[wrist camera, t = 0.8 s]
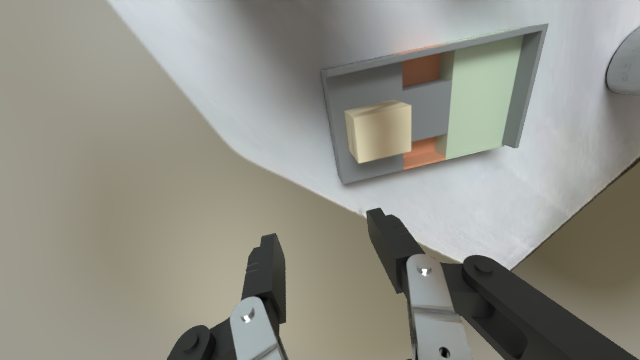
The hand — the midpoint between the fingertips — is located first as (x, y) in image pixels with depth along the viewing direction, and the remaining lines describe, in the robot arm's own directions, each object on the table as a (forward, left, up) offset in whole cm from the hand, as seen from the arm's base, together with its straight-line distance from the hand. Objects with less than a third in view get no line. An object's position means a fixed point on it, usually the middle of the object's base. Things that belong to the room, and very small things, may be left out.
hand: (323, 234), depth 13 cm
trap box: (-16, 0, -20) cm, 25 cm away
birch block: (-9, 0, -17) cm, 18 cm away
